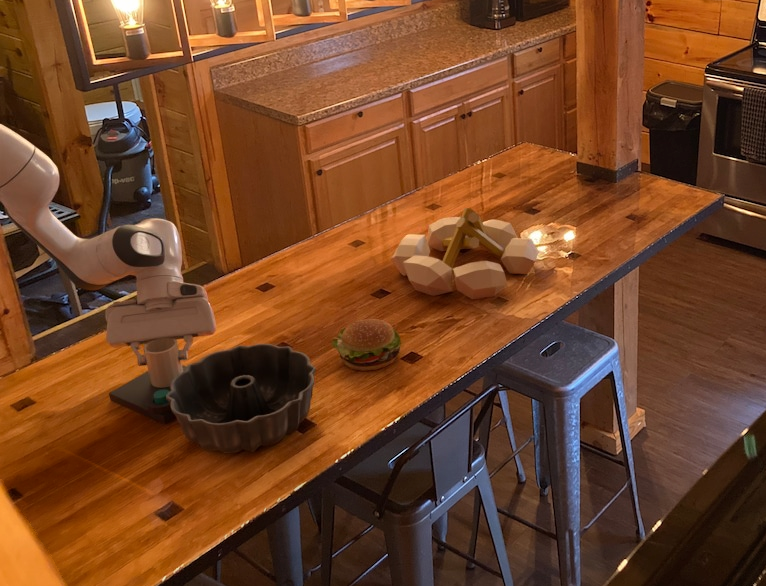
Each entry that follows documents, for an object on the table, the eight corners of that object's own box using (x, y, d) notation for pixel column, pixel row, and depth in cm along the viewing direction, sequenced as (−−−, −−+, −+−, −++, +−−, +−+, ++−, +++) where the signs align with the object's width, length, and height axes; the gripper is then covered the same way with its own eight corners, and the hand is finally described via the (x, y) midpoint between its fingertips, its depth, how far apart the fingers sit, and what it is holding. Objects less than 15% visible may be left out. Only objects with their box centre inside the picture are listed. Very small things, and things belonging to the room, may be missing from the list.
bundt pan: (347, 425, 182) (341, 381, 178) (212, 489, 165) (203, 443, 161) (281, 370, 199) (275, 328, 195) (153, 422, 182) (143, 379, 178)
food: (332, 346, 208) (328, 314, 204) (397, 336, 212) (394, 305, 208) (336, 380, 196) (332, 347, 193) (405, 369, 200) (402, 337, 196)
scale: (108, 401, 188) (105, 387, 187) (169, 366, 200) (166, 352, 198) (163, 425, 181) (160, 410, 180) (223, 388, 193) (220, 373, 192)
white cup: (143, 382, 191) (136, 348, 188) (169, 367, 196) (163, 334, 193) (164, 390, 189) (157, 356, 185) (190, 375, 194) (183, 342, 190)
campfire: (478, 316, 220) (475, 250, 213) (368, 280, 236) (361, 218, 229) (559, 257, 248) (558, 197, 241) (455, 229, 263) (452, 172, 256)
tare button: (151, 401, 183) (150, 395, 183) (164, 394, 185) (162, 387, 185) (161, 406, 182) (160, 399, 181) (173, 398, 184) (172, 391, 184)
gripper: (100, 298, 189) (102, 366, 185) (210, 285, 195) (214, 351, 190) (109, 307, 195) (110, 373, 190) (215, 294, 200) (219, 358, 196)
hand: (163, 362), depth 190 cm, fingers closed on white cup, 6 cm apart
